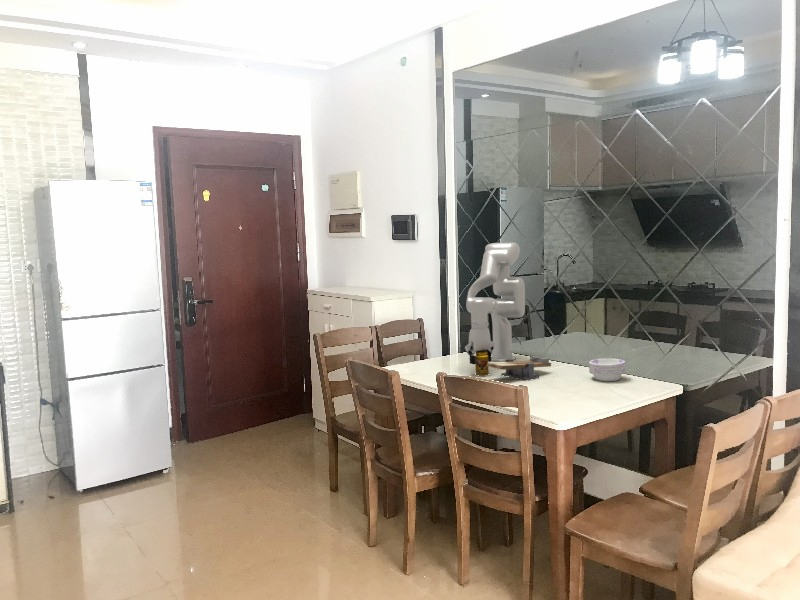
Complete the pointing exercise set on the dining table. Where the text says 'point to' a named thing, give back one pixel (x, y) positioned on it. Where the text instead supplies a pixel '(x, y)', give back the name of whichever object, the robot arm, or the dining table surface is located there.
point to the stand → (521, 372)
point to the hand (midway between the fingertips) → (480, 362)
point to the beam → (521, 363)
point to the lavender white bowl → (607, 369)
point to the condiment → (481, 363)
